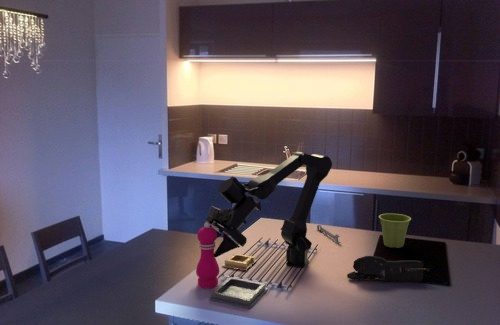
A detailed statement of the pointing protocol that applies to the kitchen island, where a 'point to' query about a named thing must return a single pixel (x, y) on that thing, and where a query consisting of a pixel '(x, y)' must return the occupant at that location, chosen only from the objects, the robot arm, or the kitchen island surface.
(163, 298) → the kitchen island surface
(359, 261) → the black glove
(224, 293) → the graphite square tray
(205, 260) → the pepper mill
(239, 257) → the brass square tray
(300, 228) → the robot arm
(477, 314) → the kitchen island surface
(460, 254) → the kitchen island surface
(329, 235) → the combination wrench
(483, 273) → the kitchen island surface
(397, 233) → the plant pot
